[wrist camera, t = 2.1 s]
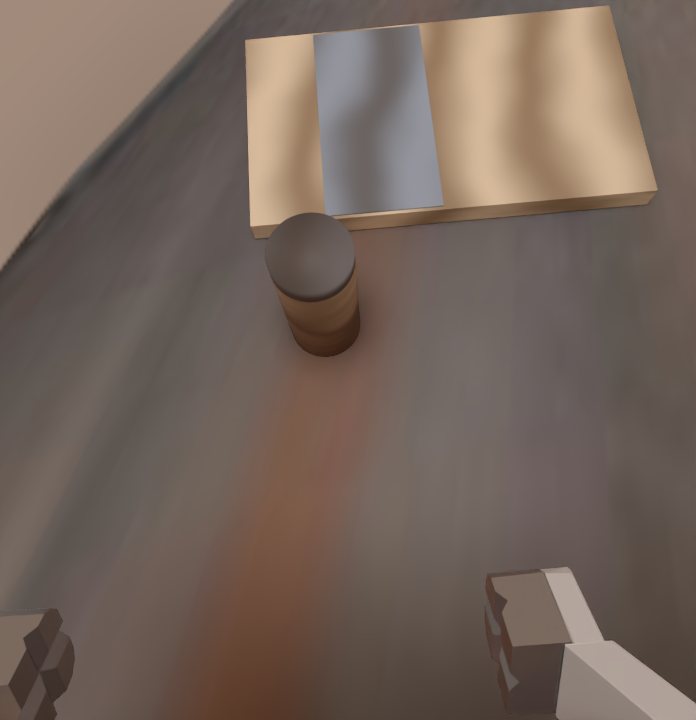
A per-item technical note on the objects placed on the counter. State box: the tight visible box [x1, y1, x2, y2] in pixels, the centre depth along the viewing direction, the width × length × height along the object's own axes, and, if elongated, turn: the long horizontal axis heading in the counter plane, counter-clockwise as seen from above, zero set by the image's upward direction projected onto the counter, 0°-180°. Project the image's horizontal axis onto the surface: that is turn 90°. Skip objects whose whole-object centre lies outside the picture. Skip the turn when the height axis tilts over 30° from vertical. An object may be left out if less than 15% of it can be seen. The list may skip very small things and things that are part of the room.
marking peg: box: [265, 212, 360, 357], centre depth 31 cm, size 4×4×9 cm
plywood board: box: [245, 6, 658, 239], centre depth 39 cm, size 24×14×2 cm, turn 94°
